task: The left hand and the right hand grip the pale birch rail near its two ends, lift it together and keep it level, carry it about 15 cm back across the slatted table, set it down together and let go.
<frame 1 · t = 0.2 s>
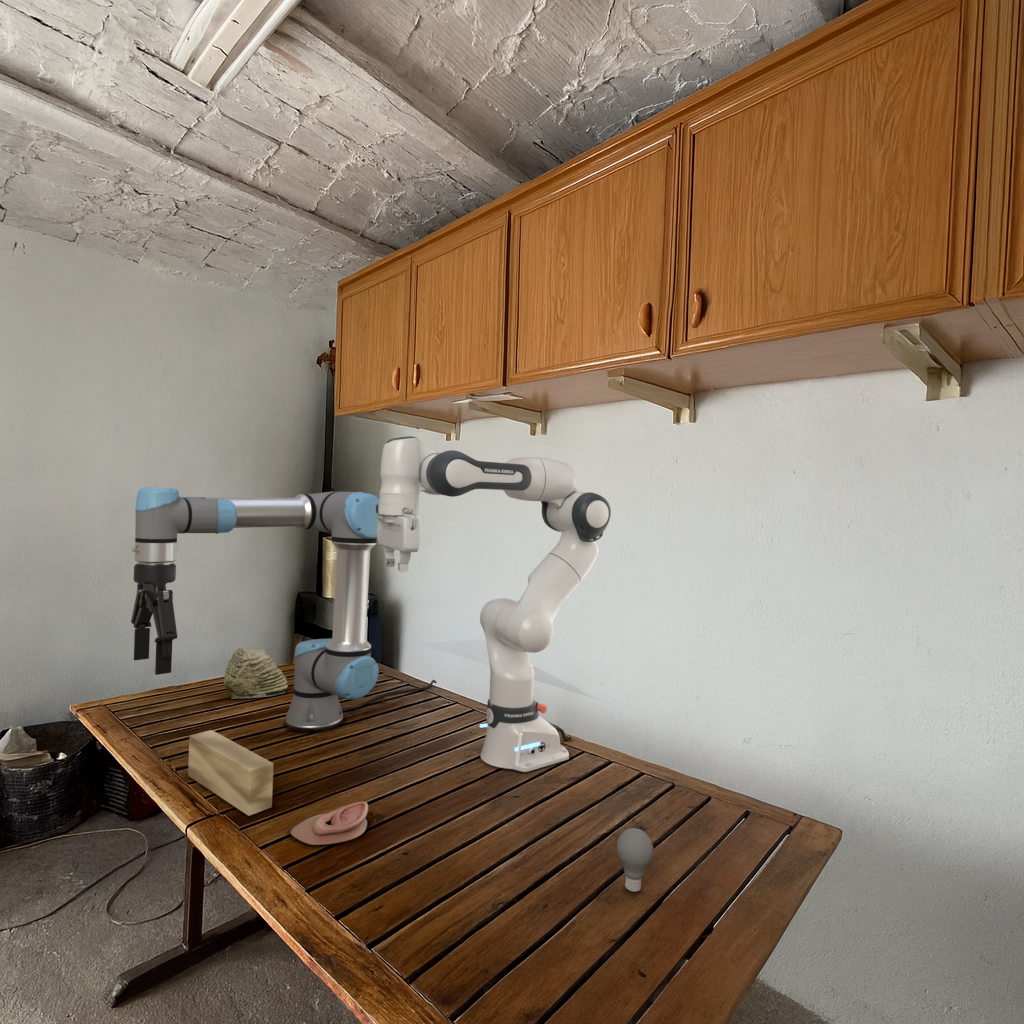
left hand: (151, 666, 130), 27 cm above the table, fingers open, 13 cm apart
right hand: (396, 568, 143), 48 cm above the table, fingers open, 8 cm apart
birch rail: (228, 790, 135), on the table
fossil: (255, 695, 198), on the table
anatomical model: (329, 830, 120), on the table
light bulb: (632, 890, 106), on the table
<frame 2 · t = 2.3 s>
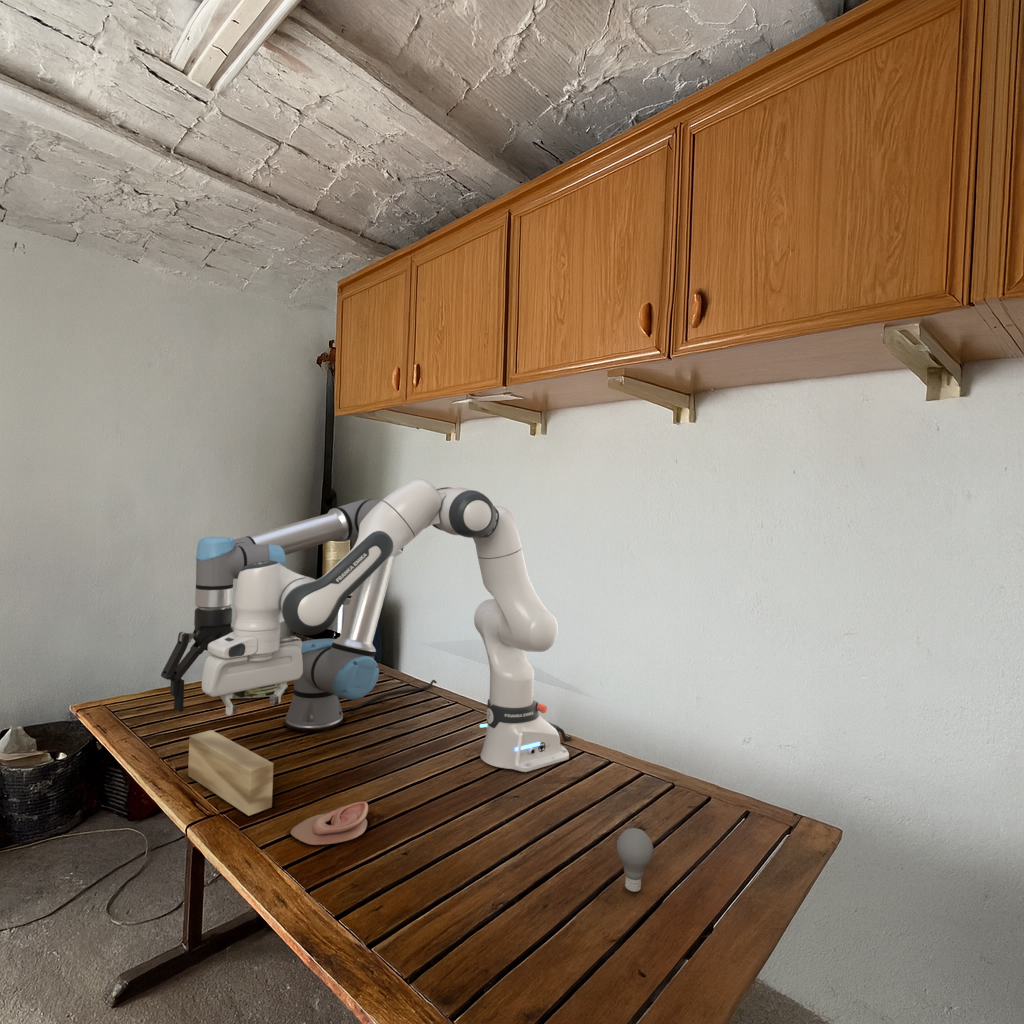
left hand: (210, 702, 140), 17 cm above the table, fingers open, 13 cm apart
right hand: (253, 708, 129), 20 cm above the table, fingers open, 8 cm apart
nothing on the table moved.
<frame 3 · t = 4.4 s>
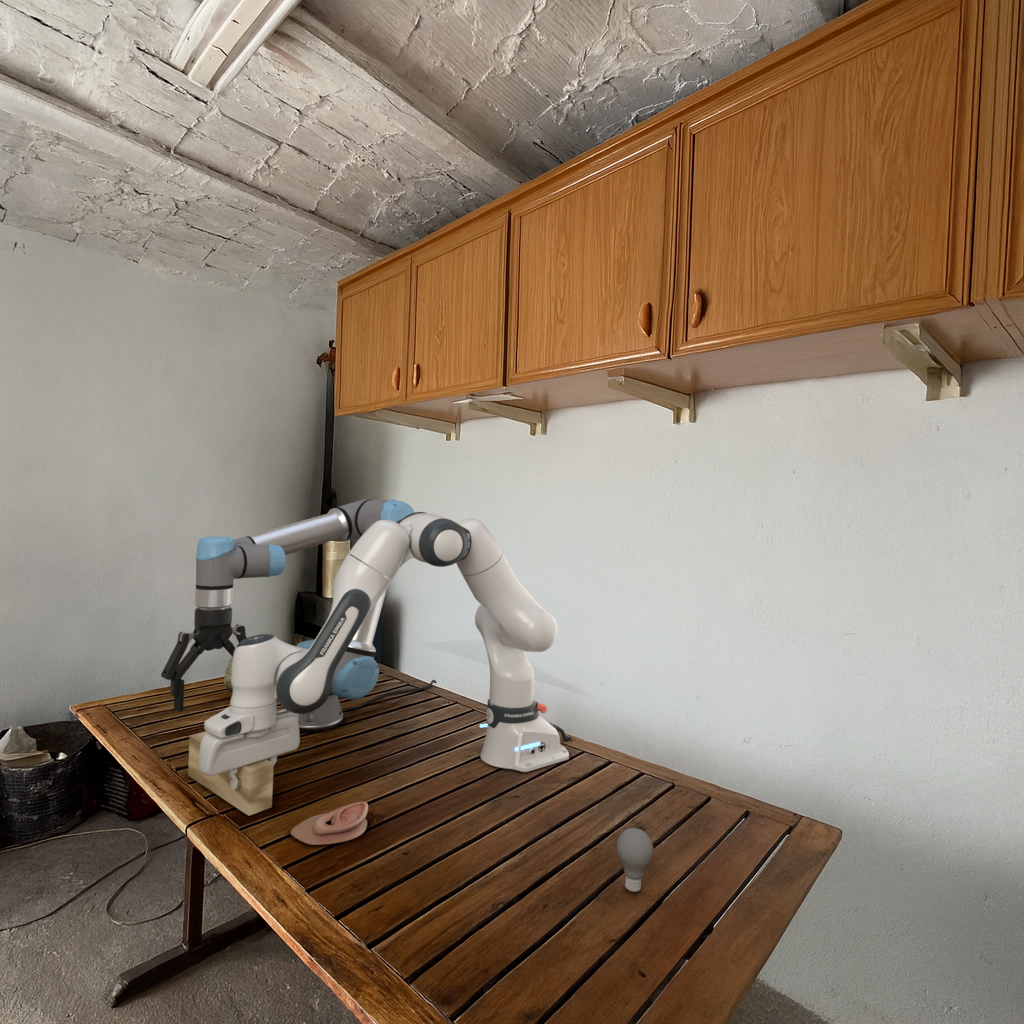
left hand: (210, 702, 140), 17 cm above the table, fingers open, 13 cm apart
right hand: (250, 782, 129), 5 cm above the table, fingers closed on birch rail, 5 cm apart
birch rail: (228, 790, 135), on the table, touching right hand
everything else where it was.
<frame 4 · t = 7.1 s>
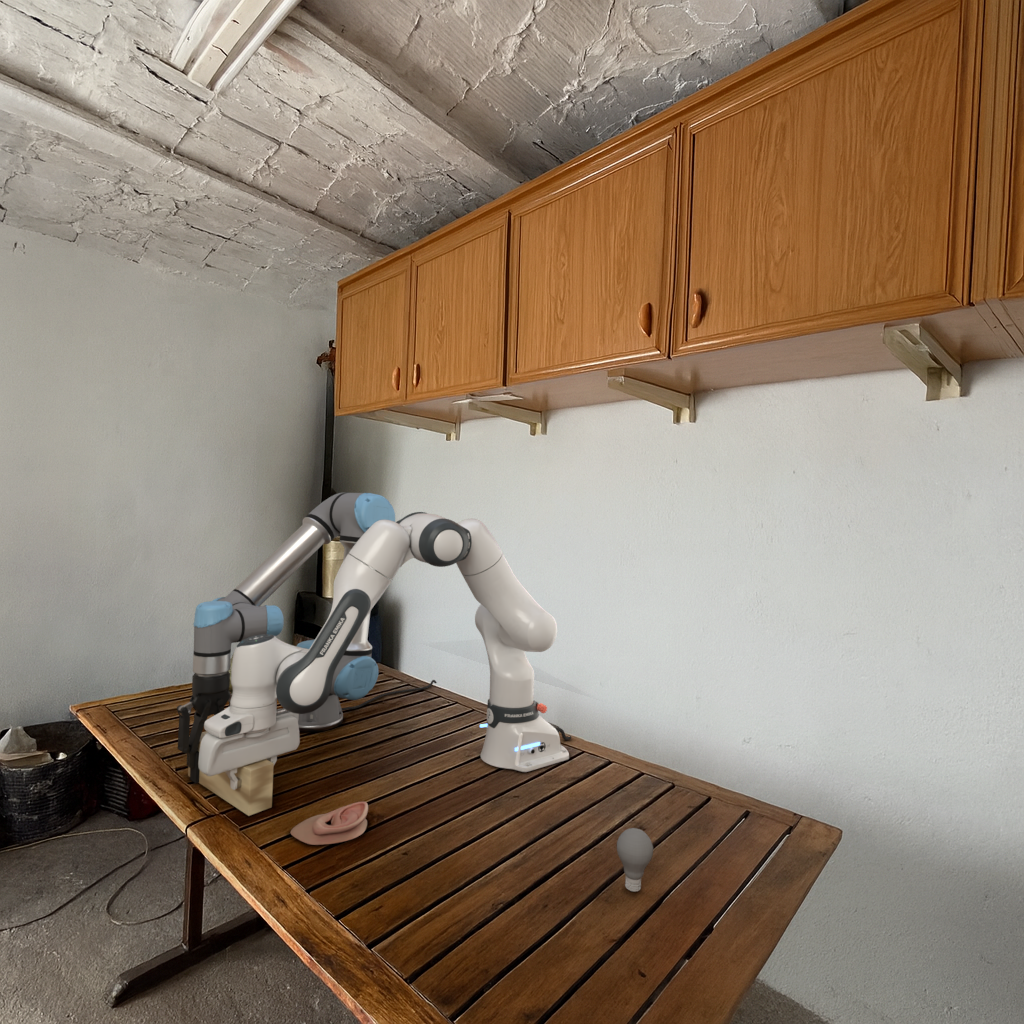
left hand: (207, 776, 140), 0 cm above the table, fingers closed on birch rail, 5 cm apart
right hand: (250, 783, 129), 5 cm above the table, fingers closed on birch rail, 5 cm apart
birch rail: (227, 790, 135), on the table, touching left hand, right hand
everything else where it was.
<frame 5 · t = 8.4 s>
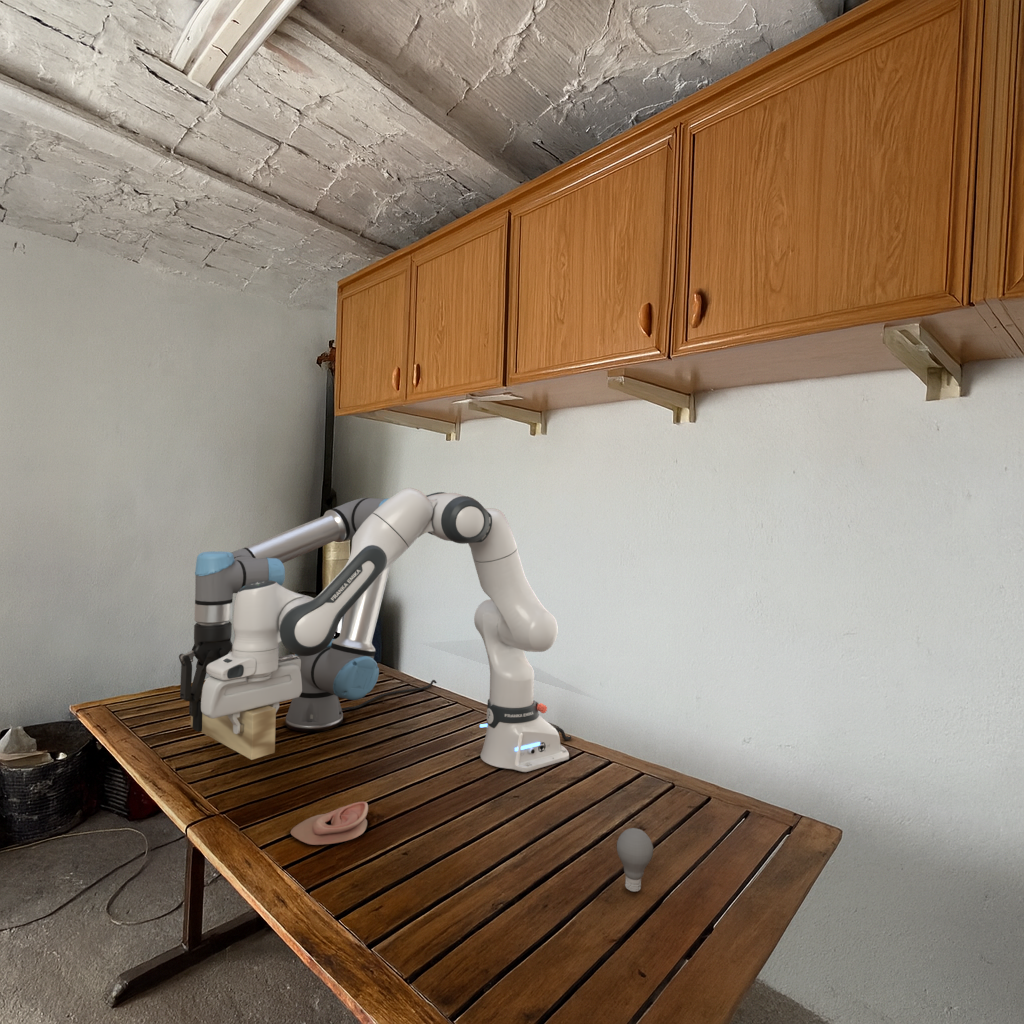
left hand: (210, 726, 140), 11 cm above the table, fingers closed on birch rail, 5 cm apart
right hand: (253, 728, 129), 16 cm above the table, fingers closed on birch rail, 5 cm apart
birch rail: (230, 738, 135), point 11 cm above the table, touching left hand, right hand
everything else where it was.
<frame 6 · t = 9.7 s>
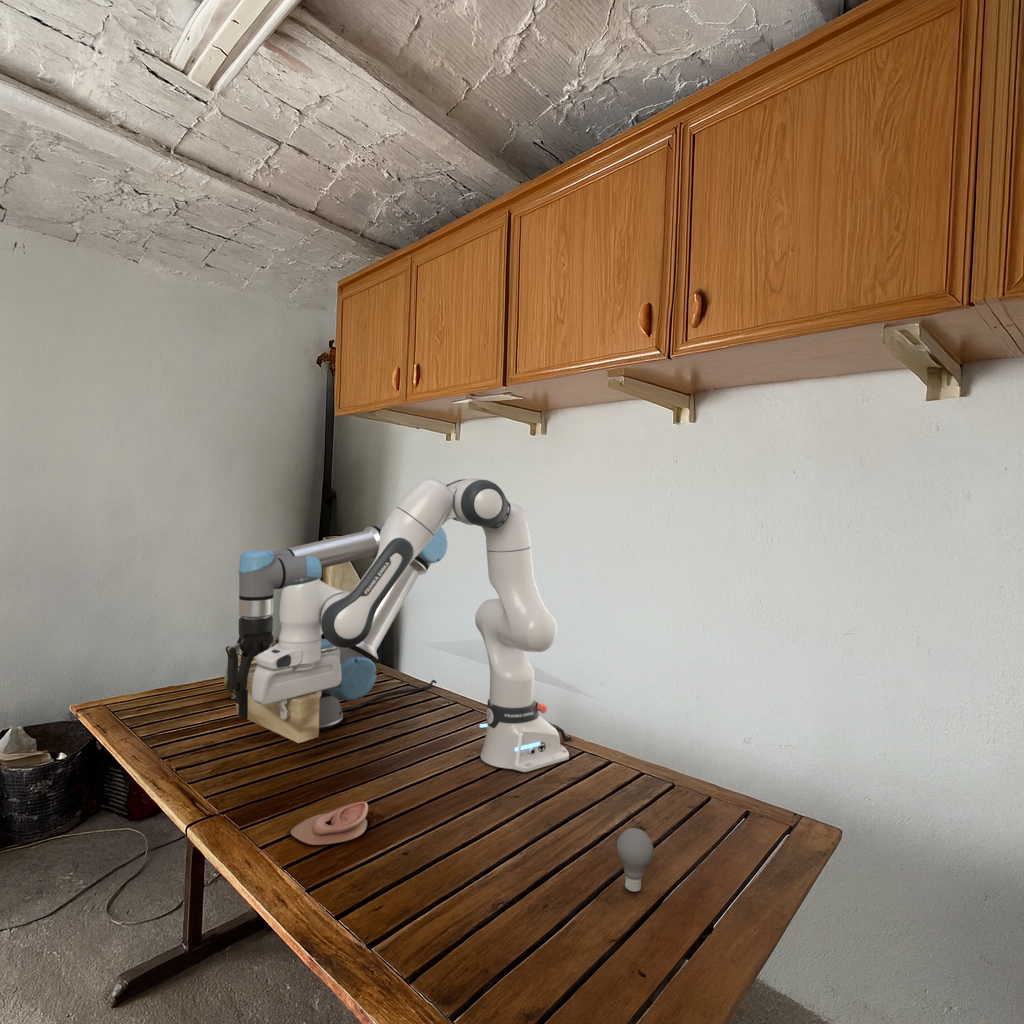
left hand: (254, 713, 150), 11 cm above the table, fingers closed on birch rail, 5 cm apart
right hand: (298, 714, 138), 15 cm above the table, fingers closed on birch rail, 5 cm apart
birch rail: (275, 724, 144), point 11 cm above the table, touching left hand, right hand
everything else where it was.
when the left hand's fingers open (2 cm above the table, at t = 12.5 s): birch rail drops 1 cm, on the table.
when the right hand's fingers open (6 cm above the table, at t = 12.7 s): birch rail stays where it is, on the table.
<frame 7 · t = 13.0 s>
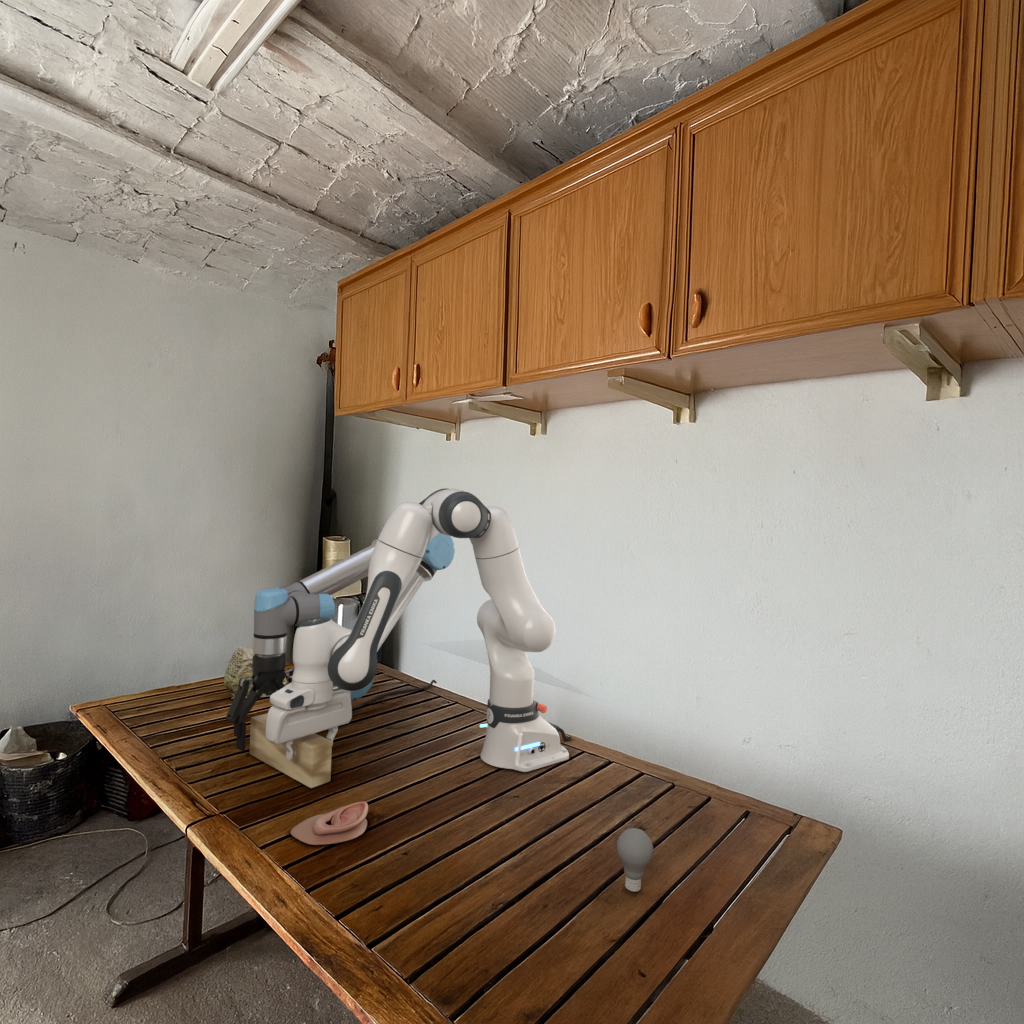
left hand: (266, 742, 153), 3 cm above the table, fingers open, 12 cm apart
right hand: (310, 752, 142), 6 cm above the table, fingers open, 8 cm apart
birch rail: (288, 767, 147), on the table
everything else where it was.
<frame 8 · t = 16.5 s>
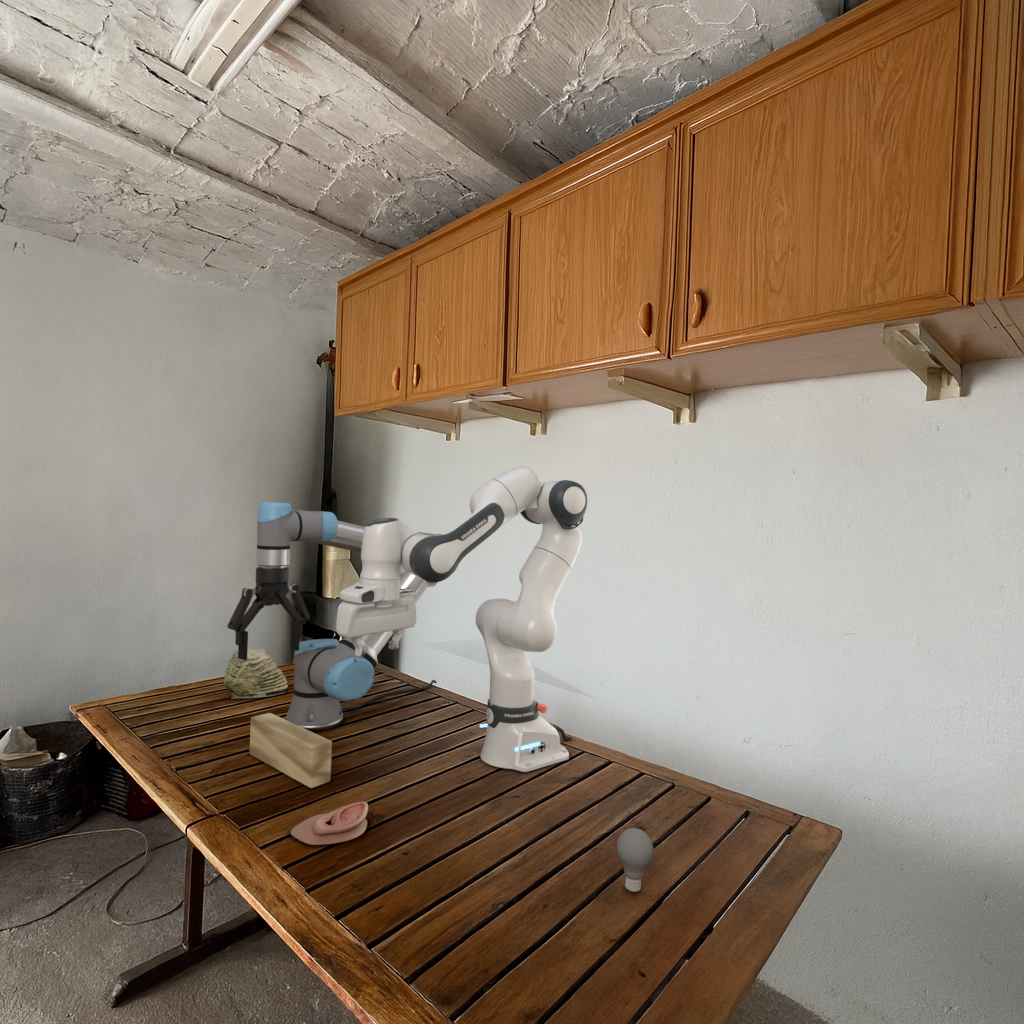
left hand: (269, 654, 153), 25 cm above the table, fingers open, 13 cm apart
right hand: (377, 652, 142), 29 cm above the table, fingers open, 8 cm apart
nothing on the table moved.
at the end: birch rail inside the target area (0.5 cm from its centre), on the table; both hands held the birch rail at the same time; birch rail never tilted more than 4° during the clip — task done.
